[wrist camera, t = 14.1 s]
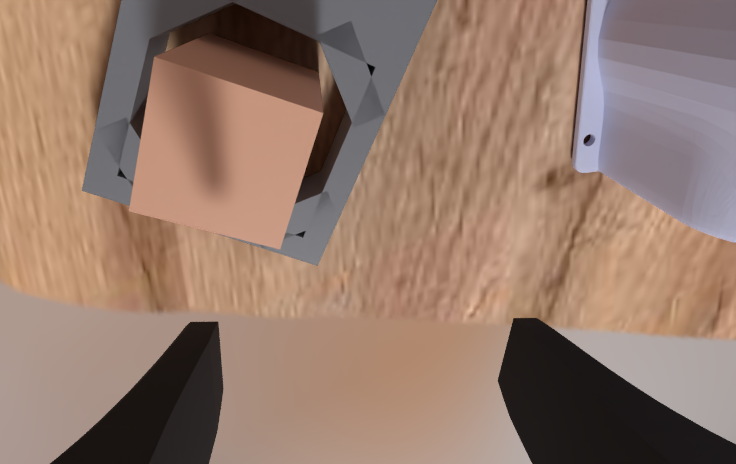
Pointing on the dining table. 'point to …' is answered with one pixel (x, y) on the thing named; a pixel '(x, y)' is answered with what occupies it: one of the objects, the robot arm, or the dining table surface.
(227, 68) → the peg
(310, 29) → the socket board
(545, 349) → the robot arm
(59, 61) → the dining table surface
